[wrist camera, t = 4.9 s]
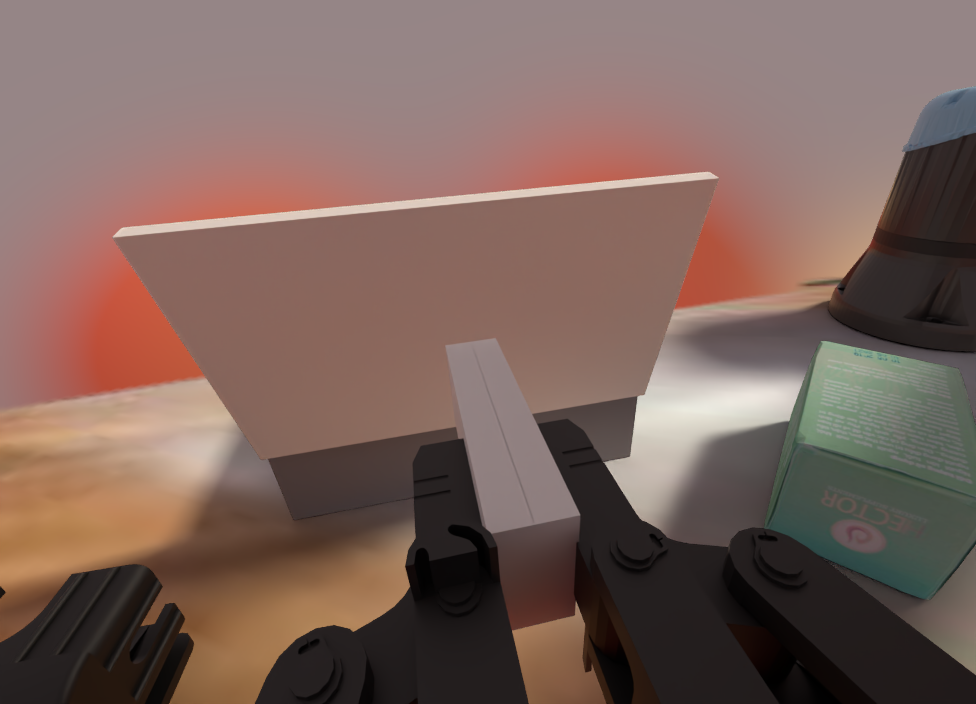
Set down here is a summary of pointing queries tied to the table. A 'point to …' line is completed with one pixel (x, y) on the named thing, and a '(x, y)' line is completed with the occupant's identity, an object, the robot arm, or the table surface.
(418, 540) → the robot arm
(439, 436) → the grey tray
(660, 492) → the table surface
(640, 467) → the table surface
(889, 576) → the box
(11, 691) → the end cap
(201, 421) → the table surface
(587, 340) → the cover
